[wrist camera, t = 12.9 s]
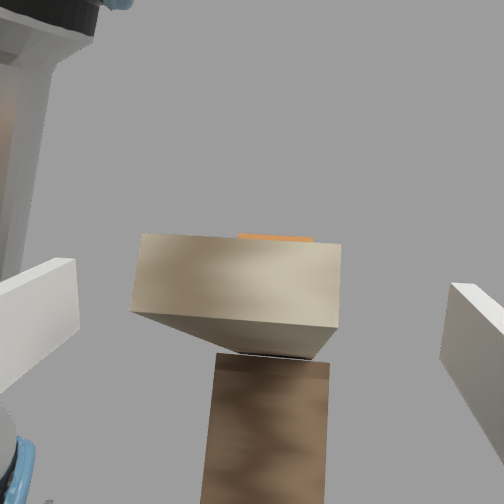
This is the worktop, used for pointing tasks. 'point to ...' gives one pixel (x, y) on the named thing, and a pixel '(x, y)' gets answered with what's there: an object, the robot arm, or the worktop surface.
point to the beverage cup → (49, 502)
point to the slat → (241, 291)
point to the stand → (266, 431)
